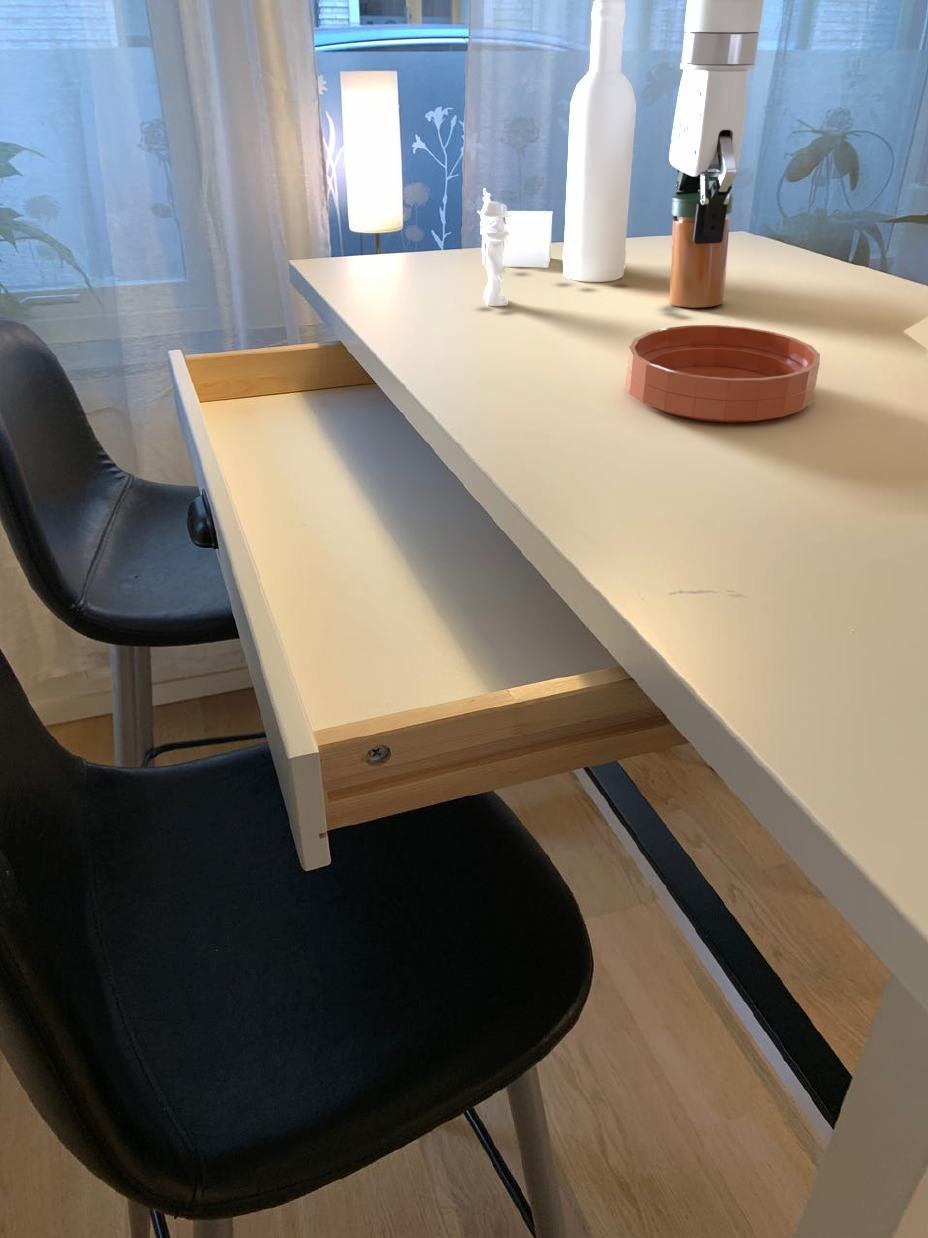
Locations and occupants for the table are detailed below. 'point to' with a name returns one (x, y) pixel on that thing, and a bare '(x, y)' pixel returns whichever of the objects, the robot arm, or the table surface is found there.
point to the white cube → (528, 239)
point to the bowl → (722, 372)
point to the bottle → (600, 156)
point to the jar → (697, 267)
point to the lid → (691, 204)
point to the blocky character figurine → (494, 248)
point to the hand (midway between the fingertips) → (696, 234)
